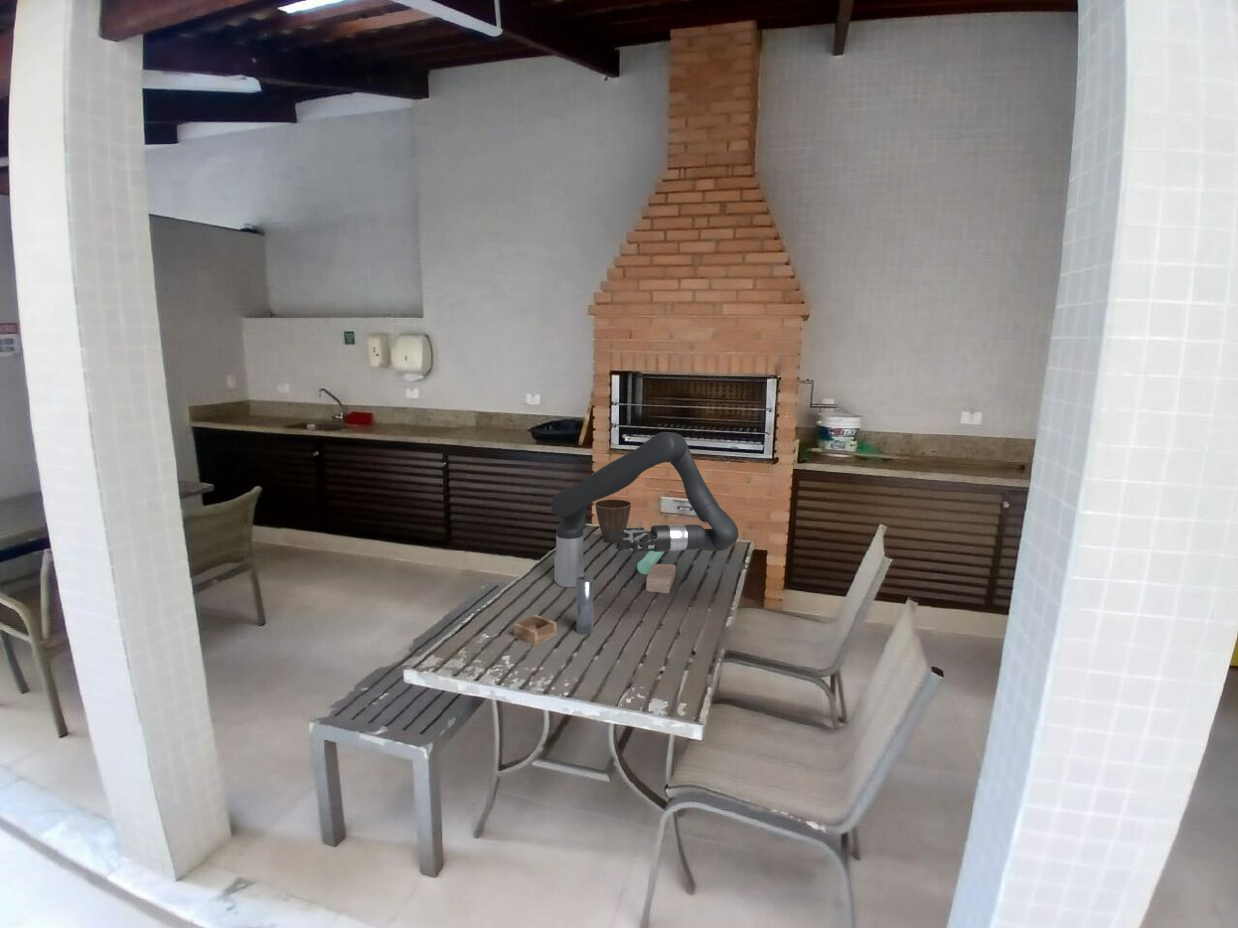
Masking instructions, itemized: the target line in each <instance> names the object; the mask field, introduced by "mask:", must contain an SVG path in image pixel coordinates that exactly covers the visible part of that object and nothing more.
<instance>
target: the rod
mask: <svg viewBox="0 0 1238 928" xmlns="http://www.w3.org/2000/svg"><path fill="white" fill-rule="evenodd" d="M575 590H576V593H575V595H576V596H575V597H576V598H575V599H576V605H575V606H576V608H575V609H576V610H575V611H576V612H575V613H576V617H575V618H576V622H575V623H576V625H575V627H576V628H575V629H576V633H577V634H579V635H582V636H587V635H588V636H589V635H591V634H593V633H594V578H593V577H590V576H583V577H579V578H577V579H576V589H575Z"/></svg>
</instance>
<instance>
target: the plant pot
mask: <svg viewBox="0 0 1238 928" xmlns="http://www.w3.org/2000/svg"><path fill="white" fill-rule="evenodd" d="M594 504H595V511H596V516H597V517H596V518H597V521H598V526H599V529H600V531H601V534H602V538H603V540H604V541H605V542H606V543H612V544H616V541H623V539H614V540H611V539H610V532H612V531H623V530H624V528H628V527H627V526H628V523H629V519H630V513H631V506H632V503H631V501H628V500H625V499H605V500H604V499H603V500H597V501H595V503H594Z"/></svg>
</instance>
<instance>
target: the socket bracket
mask: <svg viewBox="0 0 1238 928" xmlns="http://www.w3.org/2000/svg"><path fill="white" fill-rule="evenodd" d="M557 629H558V628H557V622H556V621H553V620H551V619H548V618H546V617H542V616H540V615H538V614H534V615H533V614H532V616H529V617H527V618H525V619H522V620H520V621H518V622H516V623H514V624H513V635H512V637H513V638H516V639H518V640H520V641H523V642H525V643H528V644H529V645H532V646H534V647H535V646H538V645H540V644H541V643H544V642H545V641H547V640H549V639H552V638H553V637H555V636H558V635H559V633H557Z"/></svg>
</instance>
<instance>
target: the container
mask: <svg viewBox="0 0 1238 928" xmlns="http://www.w3.org/2000/svg"><path fill="white" fill-rule="evenodd" d="M664 553H665V552H654V551H647V553H646V554H645V556H644V557H643V558H642V559H641V560H639V562H637V572H638V573H639V574H642V575H648V574H649V573H650V571H651V569H652V565H653V564H658V563H657V562H658V561H659V560H660V559H661V557H662V555H663V554H664Z"/></svg>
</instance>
